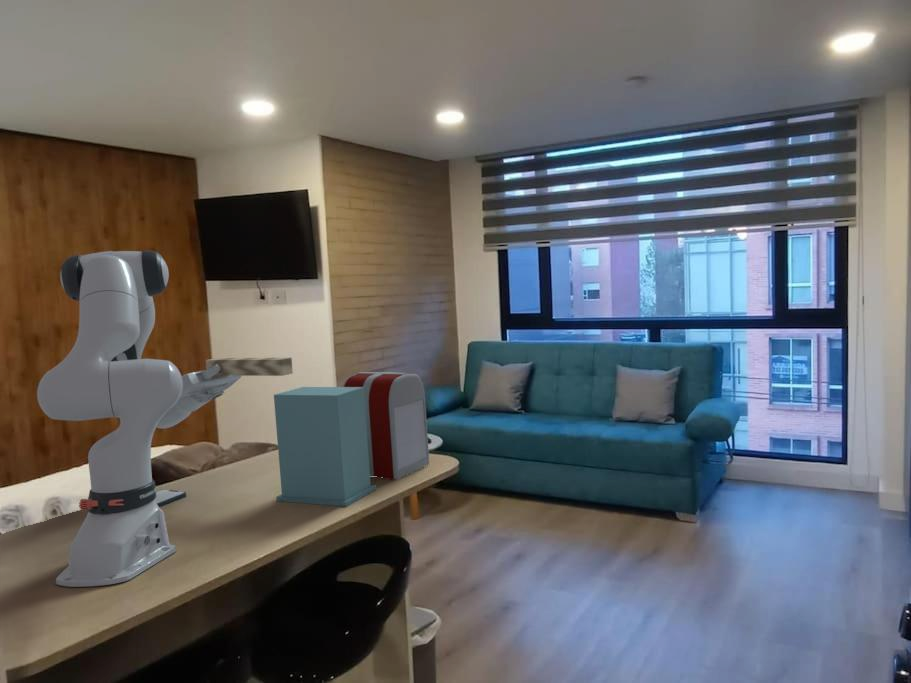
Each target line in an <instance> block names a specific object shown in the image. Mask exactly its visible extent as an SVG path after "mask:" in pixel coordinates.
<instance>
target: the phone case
mask: <svg viewBox="0 0 911 683" xmlns="http://www.w3.org/2000/svg"><path fill="white" fill-rule="evenodd" d="M184 498H187V492H186V491H183V490H182V491H181V490H174V489H173V490H172V489H162V490H159V491H156V498H155V501H156V503H157V505H158V506H159V508H161V507H163V505H164V506H166V505H165V504H167V505H169V504H171V502H172V503H174V501H175V502H177V501H180V500H181V499H184ZM160 506H161V507H160Z"/></svg>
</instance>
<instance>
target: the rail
mask: <svg viewBox="0 0 911 683" xmlns="http://www.w3.org/2000/svg"><path fill="white" fill-rule="evenodd" d="M292 360H293V359H292V357H220V358H219V357H216V358H209V359H206V360H205V368H206V369H205V370H207V369H209V368H212V367H213V366H215V365H216V364H221V365H222V367H223V370H222V371H221V372H219V373H216V374H215V375H225V376H241V377H243V376H247V377H248V376H249V377H250V376H251V377H252V376H253V377H254V376H262V377H264V376H267V377H270V376H271V377H274V376H275V377H282V376H284V377H285V376H288V375H292V374H293V373H294V372H293V361H292Z"/></svg>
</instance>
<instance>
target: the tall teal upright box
mask: <svg viewBox="0 0 911 683" xmlns="http://www.w3.org/2000/svg"><path fill="white" fill-rule="evenodd" d="M273 401H274V402H273V403H274V415H275V425H276V426H275V427H276V438H277V451H278V462H279V463H278V464H279V475H280V486H281V487H280V489H281V494H279V495H277V496H276V497H275V499H276V500H275V501H277V502H284V503H285V502H288V503H299V504H309V505H310V504H311V505H312V504H313V505H322V506H336V507H348V506H349V507H350V506H351V505H352V504H354V503H355V502H357V501H359V500H360V499H362V498H364V497H365V495H366V494H367V495H369V494H370V492H371V491H372V492H374V491H375V489H376V490H377V484H371V477H370V470H369V456H368V441H367V427H366V413H365V399H364V387H343V386H301V387H298V388H294V389H290V390H286V391H284V392H279V393H276V394H273ZM373 490H374V491H373ZM372 492H371V493H372ZM368 493H369V494H368ZM367 495H366V496H367ZM363 496H364V497H363Z"/></svg>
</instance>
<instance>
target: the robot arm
mask: <svg viewBox="0 0 911 683" xmlns="http://www.w3.org/2000/svg"><path fill="white" fill-rule="evenodd" d="M59 274H60V275H59V279H60V285H61V286H62V289H63V290H64V292H65V295H66V296H67V297H68V298H70V299H72V300H73V301H76V302H79V320H78V330H77V331H78V332H77V336H76V341H75V343H74V344H73V346H72V349H71V350H70V351H69V353H68V354H67V355H66V356H65V358H63V359H62V360H61V361H60V362H59V363H58V364H57V365H56V366H54V367H53V368H51V369H49V370H48V371H46V372H45V373H44V375H43V376H42V377H41V379H40V381H39V382H38V386H37V391H36V398H37V402H38V406H39V407H40V409H41V410H42V412H43V413H44V414H45V415H46V416H47V417H48V418H50V419H51V420H56V421H58V420H59V421H69V422H70V421H72V422H74V421H75V422H76V421H77V422H81V421H82V422H83V421H89V420H98V419H106V418H107V419H109V418H117V419H118V420H119V421H120V422H119V426H118V427H117V429H115V430H113V431H112V432H110V433H108V434H107V435H105V436H102V437H101V438H100V439H99V440H97V441H96V442H95V443H94V444H92V446H91V448H90V449H89V451H88V454H87V455H88V456H87V460H88V468H89V469H88V471H89V478H90V481H89V482H90V490H89V494H88V497H87V498H81V499H80V500H79V503H78V507H79V509H80V511H85V510H86V511H87V515H86V517H85V519H84V520H83V523H82V524H81V526H80V528H79V530H78V531H77V533H76V535H75V536H74V539H73V540H72V542H71V544H70V546H69V552H68V562H69V563H68V565H67V567H66V568H65V569H63V571H62V572H61V573H60V574H58V576H57V577H56V578H55V584H56V585H58V586H63V587H73V588H74V587H75V588H78V587H79V588H80V587H83V588H84V587H85V588H86V587H99V586H108V585H114V584H115V585H116V584H119V583H124V582H127V581H129V580H131V579H133V578H135V577H136V576H138V575H139V574H141V573H143V572H144V571H146V570H148V569H149V568H151V567H153V566H155V565H156V564H158V563H160V562H161V561H162V560H164V559H166V558H167V557H169V556H171V555H172V554H174V553H175V552H177V550H176V546H175V545H174V544H172V543H170V540H169V539H170V538H169V535H168V529H167V523H166V519H165V518H166V517H165V512H164V511H163V510H162V509H161V507H159V506H158V505H157V503H156V501H155V498H156V492H157V486H156V481H155V480H154V479H153V477H152V475H153V473H152V458H151V457H152V441H153V438H154V433H155V430H156V428H157V429H169V428H172V427H174V426H176V425H178V424H179V423H182V421H184V420H185V419H187V418H188V417H189V416H190V415H191V414H192V412H195V411H197V410H199V409H200V408H201V407H202V406H205V405H206V404H208V403H209V402H210V401H212V400H214V399H217V398H219V397H221V396H223V395H224V394H225V392H226V391H225V390H227V389H229V388H230V387H231V386H233V385H234V384H235V383H237V382H238V381H239V379H241V378H242V376H225V375H215V374H216V373H219V372H221V371H222V370H223V367H222V365H221V364H216V365H215V366H213V367H212V368H209V369H207V370H206V369H204V370H199V371H198V370H197V371H193V372H190V373H185V374H183V375H182V374H181V372H180V370H179V369H178V367H177V366H176V365H175V364H174V363H173V362H172V361H171V360H167V359H166V360H165V359H155V358H142V354H143V351H144V349H145V347H146V344H147V342H148V340H149V338H150V335H151V333H152V331H153V329H154V326H155V322H156V308H155V302H154V296H158V295H161V294H162V293H163V292H164V291H165V290H166V289H167V285H168V282H169V277H170V275H169V274H170V273H169V268H168V265H167V262H166V261H165V259H164V258H163V256H162V255H161V254H160V253H158V251H156V250H149V249H147V250H145V249H143V250H141V251H136V250H118V251H117V250H116V251H113V250H108V251H100V252H93V253H88V254H84V255H83V254H76V255H73V256H69V257H67V258H66V259H65V260H64V261H63V262H62V264H61V270H60V273H59Z"/></svg>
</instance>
